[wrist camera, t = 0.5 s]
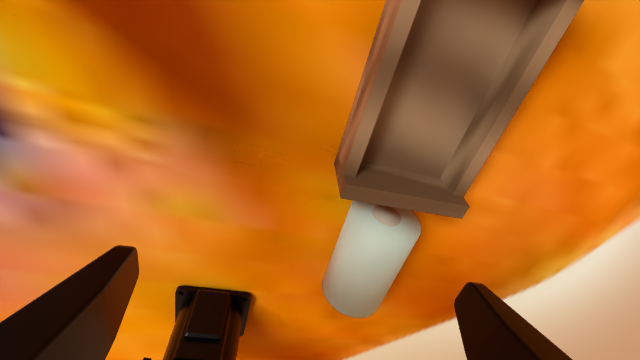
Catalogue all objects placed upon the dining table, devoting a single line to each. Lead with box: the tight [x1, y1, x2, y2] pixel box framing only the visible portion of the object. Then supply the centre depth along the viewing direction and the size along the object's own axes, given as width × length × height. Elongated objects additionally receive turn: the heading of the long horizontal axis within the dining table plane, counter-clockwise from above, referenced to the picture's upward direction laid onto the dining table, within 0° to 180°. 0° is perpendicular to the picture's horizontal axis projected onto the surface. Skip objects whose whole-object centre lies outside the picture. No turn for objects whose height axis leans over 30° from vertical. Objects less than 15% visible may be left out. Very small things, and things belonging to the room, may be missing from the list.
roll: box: [322, 200, 421, 318], centre depth 24 cm, size 8×5×5 cm, turn 166°
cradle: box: [334, 0, 584, 219], centre depth 17 cm, size 14×8×4 cm, turn 166°
